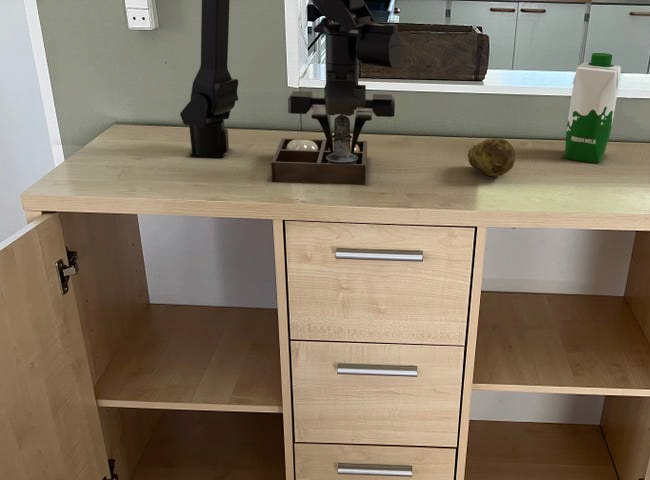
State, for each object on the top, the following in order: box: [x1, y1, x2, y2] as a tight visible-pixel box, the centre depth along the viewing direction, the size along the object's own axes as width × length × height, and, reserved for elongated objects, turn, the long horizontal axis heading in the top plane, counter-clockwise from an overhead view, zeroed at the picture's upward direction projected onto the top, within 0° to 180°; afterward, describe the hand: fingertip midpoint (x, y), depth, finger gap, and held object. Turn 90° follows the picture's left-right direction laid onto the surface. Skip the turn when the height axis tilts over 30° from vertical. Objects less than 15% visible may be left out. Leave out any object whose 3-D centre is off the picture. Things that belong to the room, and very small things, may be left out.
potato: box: [467, 137, 517, 178], centre depth 143 cm, size 8×13×8 cm, turn 179°
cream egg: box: [286, 140, 319, 151], centre depth 147 cm, size 6×4×4 cm
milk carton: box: [564, 52, 622, 164], centre depth 154 cm, size 9×9×20 cm
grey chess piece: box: [326, 115, 358, 164], centre depth 139 cm, size 6×6×12 cm
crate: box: [270, 137, 368, 185], centre depth 144 cm, size 17×17×4 cm
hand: (342, 152), depth 139 cm, fingers closed on grey chess piece, 3 cm apart
